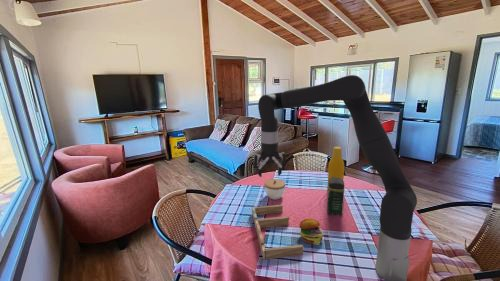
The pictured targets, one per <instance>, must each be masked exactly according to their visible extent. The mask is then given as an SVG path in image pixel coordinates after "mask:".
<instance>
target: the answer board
mask: <svg viewBox="0 0 500 281" xmlns="http://www.w3.org/2000/svg"><path fill="white" fill-rule="evenodd" d="M283 206H284V205H283V204H276V205H263V206H255V207H251V216H252V219H253V223H254V227H255V232H256V235H257V240H258V243H259V248H260V252H261V256H262V259H263V260H271V259H279V258H280V257H281V258H287V257H288V258H289V257H296V256H303V255H304V245H303V244H295V245H286V246H279V247H270V248H266V246H265V240H264V238H263V233H262V230H261V229H263V228H272V227H273V228H274V227H283V226H289V225H290V223H289V220H290V218H289V216H279V217H270V218H259V219H258V216H261V215H269V214H279V213H281V214H282V213H284V212H283V211H284V210H283V208H284V207H283Z"/></svg>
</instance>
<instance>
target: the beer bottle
mask: <svg viewBox="0 0 500 281" xmlns="http://www.w3.org/2000/svg"><path fill="white" fill-rule="evenodd" d="M342 156H343V155H342V147H340V146H334V147H333V151H332V156H331V158H330V160H329V162H328V172H327V191H328V184H329V179H330V178H332V177H337V178H340V179H342V180H343V181H344V175H345V161H344V159H343V157H342Z"/></svg>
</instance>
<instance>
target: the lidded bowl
mask: <svg viewBox="0 0 500 281" xmlns="http://www.w3.org/2000/svg"><path fill="white" fill-rule="evenodd" d="M285 190H286V182H285V181H284V180H282V179H278V178H273V179H267V180H266V181H265V182H264V191H265V193H266V196H268V198H269V199H272V200H280V199H281V198H282V197H283V196H284V194H285Z"/></svg>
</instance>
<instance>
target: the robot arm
mask: <svg viewBox="0 0 500 281" xmlns="http://www.w3.org/2000/svg"><path fill="white" fill-rule="evenodd" d="M330 101H332V102H333V101H336V102H337V101H343V103H344V105H345V106H346V108H347V110H348V112H349V114H350V116H351V119H352V123H353V128H354V131H355V135H356V138H357V142H358V144H359V147H360V149H361V151H362V153H363V155H364V157H365V159H366V160H367V161H368V163H369V164H370V165H371V166H372V167H373V169H374V170H375V171H376V172H377V173H378V176H379V178H380V179H381V181H382V184H383V186H384V189H385V194H384V195H383V197H382V199H381V201H380V202H381V203H380V211H379V212H380V213H379V234H378V235H379V236H378V242H377V250H376V260H375V261H376V262H375V268H374V269H375V271H376V273H377V275H378V276H379V277H381V278H382V279H384V281H407V279H408V273H409V267H410V266H409V265H410V261H411V259H410V257H409V251H410V243H411V237H412V230H413V229H412V224H413V217H414V212H415V210H416V207H417V205H418V197H417V196H416V195H417V194H416V193H415V191H414V189H413V188H412V186H411V184H410V182H409V181H408V179H407V178H406V176H405V174H404V172H403V170H402V168H401V166H400V163H399V159H398V158H397V154H396V152H395V150H394V148H393V145H392V142H391V140H390V138H389V136H388V134H387V132H386V130H385V128H384V125H383V124H382V122H381V121H380V120H379V118H378V116H377V114H376V113H375V111H374V109H373V107H372V105H371V102H370V98H369V95H368V92H367V89H366V84H365V82H364V81H363V79H362V78H361V77H360V76H358V75H356V74H347V75H345V76H342V77H339V78H336V79H333V80H331V81H328V82H325V83H321V84H316V85H311V86H306V87H304V86H303V87H300V88H294V89H293V88H292V89H289V90H284V91H282V92H275V93H267V94H263V95H261V96H260V97H259V100H258V104H257V106H258V109H257V110H258V112H259V113H258V115H259V117H260V120H261V121H260V122H261V123H260V124H261V125H260V126H261V127H260V128H261V131H260V154H258V153H254V154H253V167H254V168H255V169H257V175H258V176H259V178H262V177H263V176H262V173H263V172H262V168H263V167H264V166H265V165H266V164H267V165H269V164H274V163H275V164H276V165H277V176H281V175H282V171H283V167H286V166H287V160H286V159H287V158H286V153H285V152H284V151H282V152H279V132H278V127H279V125H278V124H279V123H278V122H279V121H278V118H277V117H275V116H276V115H275V111H277V110H280V109H292V108H301V107H304V106H309V105H313V104H316V103H321V102H330ZM279 157H280V158H281V163H280V161H279V159H278V158H279ZM260 159H261V160H260ZM258 160H260V161H259V163H258Z"/></svg>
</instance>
